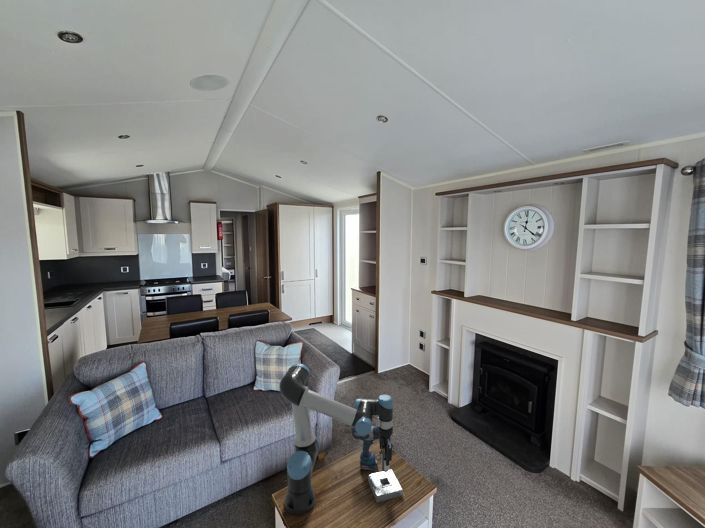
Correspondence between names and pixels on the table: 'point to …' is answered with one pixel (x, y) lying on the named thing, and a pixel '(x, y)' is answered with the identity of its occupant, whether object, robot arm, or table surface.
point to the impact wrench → (367, 448)
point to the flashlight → (383, 458)
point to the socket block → (387, 490)
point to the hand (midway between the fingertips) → (385, 467)
